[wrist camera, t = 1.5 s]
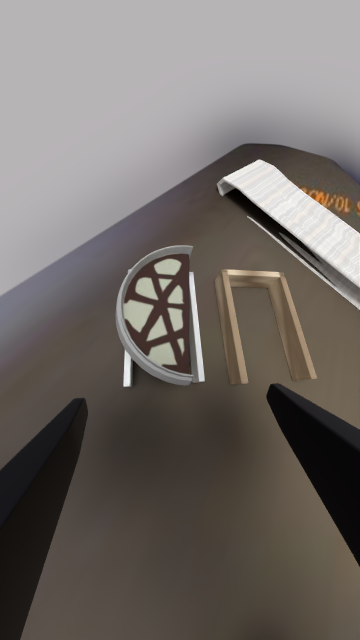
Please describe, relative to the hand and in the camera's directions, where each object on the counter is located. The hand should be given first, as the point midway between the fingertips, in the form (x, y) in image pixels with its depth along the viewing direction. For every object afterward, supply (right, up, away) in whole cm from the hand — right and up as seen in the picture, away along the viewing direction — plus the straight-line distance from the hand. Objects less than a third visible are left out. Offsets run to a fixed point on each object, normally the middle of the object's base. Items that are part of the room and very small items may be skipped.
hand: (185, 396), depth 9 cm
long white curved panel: (+24, +19, +27) cm, 41 cm away
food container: (-4, +2, +15) cm, 15 cm away
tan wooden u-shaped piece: (+10, +2, +17) cm, 20 cm away
